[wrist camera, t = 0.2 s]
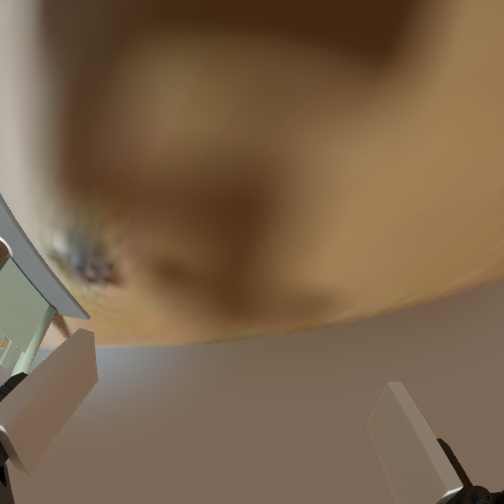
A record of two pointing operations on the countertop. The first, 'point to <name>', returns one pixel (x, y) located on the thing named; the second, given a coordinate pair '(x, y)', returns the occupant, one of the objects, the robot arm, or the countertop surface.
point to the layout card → (36, 267)
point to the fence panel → (21, 317)
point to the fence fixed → (3, 251)
